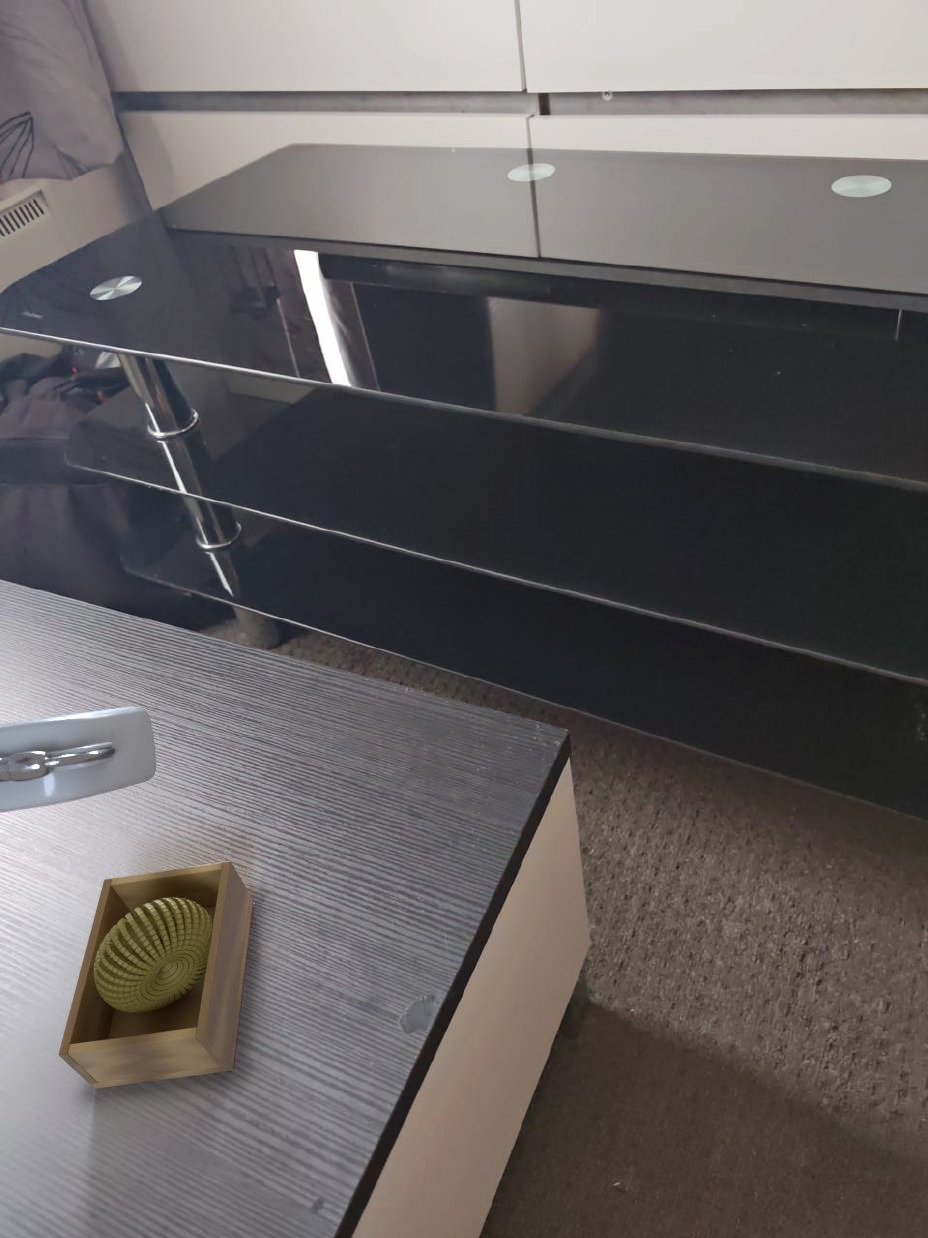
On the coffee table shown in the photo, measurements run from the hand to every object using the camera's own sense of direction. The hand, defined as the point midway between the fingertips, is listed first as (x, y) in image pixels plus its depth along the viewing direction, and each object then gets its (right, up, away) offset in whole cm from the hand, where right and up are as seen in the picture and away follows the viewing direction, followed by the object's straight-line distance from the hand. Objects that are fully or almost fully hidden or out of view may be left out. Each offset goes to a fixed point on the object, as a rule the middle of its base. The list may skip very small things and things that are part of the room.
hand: (14, 759), depth 50 cm
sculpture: (+5, -17, +13) cm, 22 cm away
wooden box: (+5, -18, +14) cm, 23 cm away
